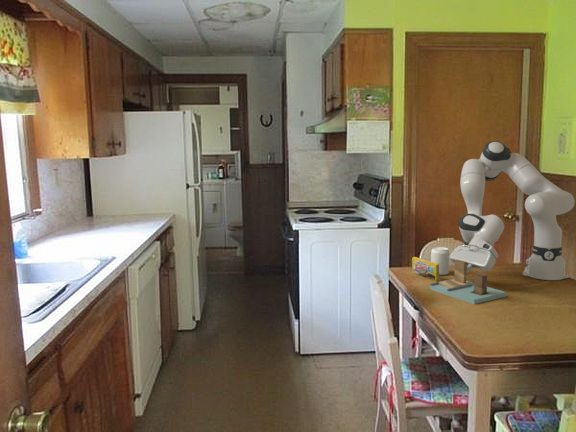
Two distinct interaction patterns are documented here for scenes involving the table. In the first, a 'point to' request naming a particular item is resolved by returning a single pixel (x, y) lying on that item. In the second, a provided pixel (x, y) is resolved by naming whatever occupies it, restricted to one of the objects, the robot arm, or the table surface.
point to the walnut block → (480, 284)
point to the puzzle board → (467, 292)
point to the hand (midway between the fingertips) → (461, 273)
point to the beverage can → (441, 259)
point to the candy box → (425, 269)
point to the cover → (457, 275)
